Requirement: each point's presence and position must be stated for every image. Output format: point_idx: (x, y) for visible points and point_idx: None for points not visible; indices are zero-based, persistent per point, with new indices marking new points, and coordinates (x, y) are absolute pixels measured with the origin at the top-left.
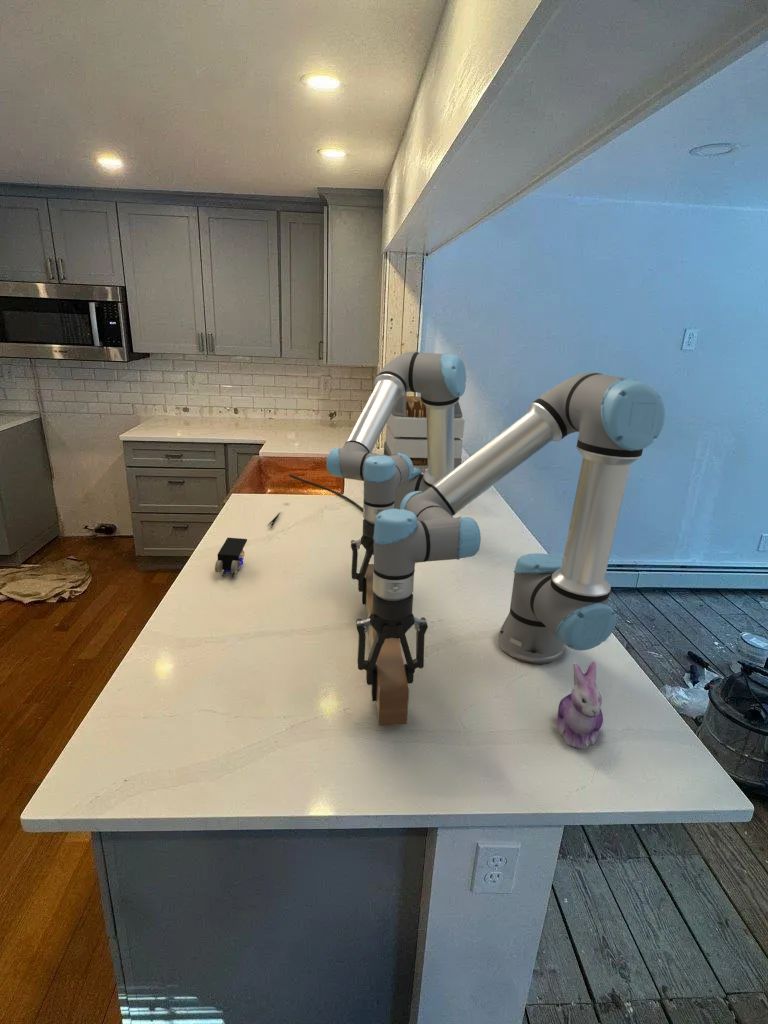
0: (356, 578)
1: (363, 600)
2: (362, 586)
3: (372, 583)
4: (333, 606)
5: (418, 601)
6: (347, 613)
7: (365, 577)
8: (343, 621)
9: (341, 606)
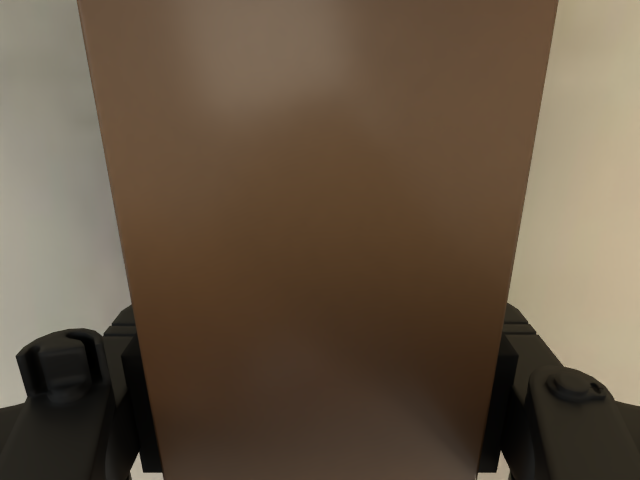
0: (636, 416)
1: None
2: None
3: (411, 241)
4: (605, 289)
5: (22, 344)
6: (526, 197)
7: None
8: (581, 78)
9: (549, 289)
